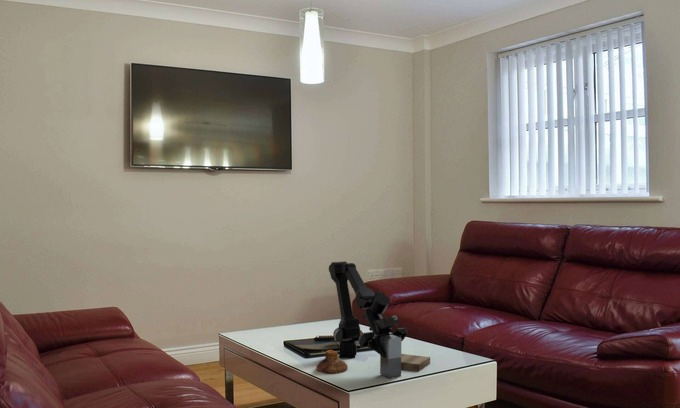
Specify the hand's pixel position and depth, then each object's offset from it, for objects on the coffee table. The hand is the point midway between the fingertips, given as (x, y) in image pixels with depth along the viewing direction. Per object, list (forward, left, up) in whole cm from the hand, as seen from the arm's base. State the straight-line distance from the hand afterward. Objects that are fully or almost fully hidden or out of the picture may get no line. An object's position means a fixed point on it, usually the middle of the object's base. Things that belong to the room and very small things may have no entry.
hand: (392, 356), depth 227 cm
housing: (-1, +1, -7) cm, 7 cm away
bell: (-23, +9, -8) cm, 26 cm away
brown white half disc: (-18, +47, -7) cm, 51 cm away
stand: (+7, +15, -7) cm, 18 cm away
